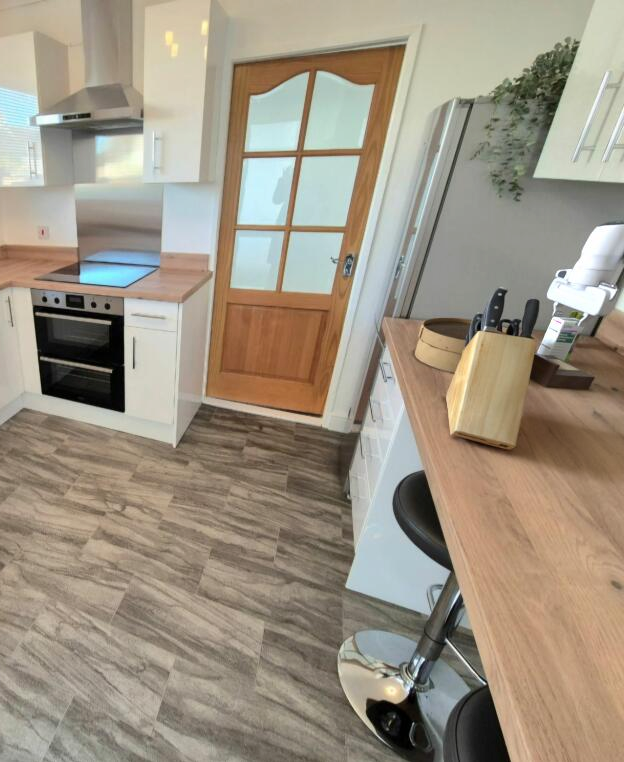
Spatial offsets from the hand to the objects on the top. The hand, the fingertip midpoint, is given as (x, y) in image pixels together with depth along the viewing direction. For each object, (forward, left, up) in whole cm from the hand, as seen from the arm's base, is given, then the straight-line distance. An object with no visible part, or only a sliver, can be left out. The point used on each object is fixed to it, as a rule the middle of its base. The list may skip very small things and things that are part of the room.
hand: (567, 321), depth 135 cm
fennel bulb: (-16, -18, -14) cm, 28 cm away
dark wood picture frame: (+9, +13, -14) cm, 21 cm away
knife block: (+45, +42, -14) cm, 63 cm away
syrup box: (0, 0, -14) cm, 14 cm away
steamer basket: (+30, +4, -14) cm, 33 cm away
